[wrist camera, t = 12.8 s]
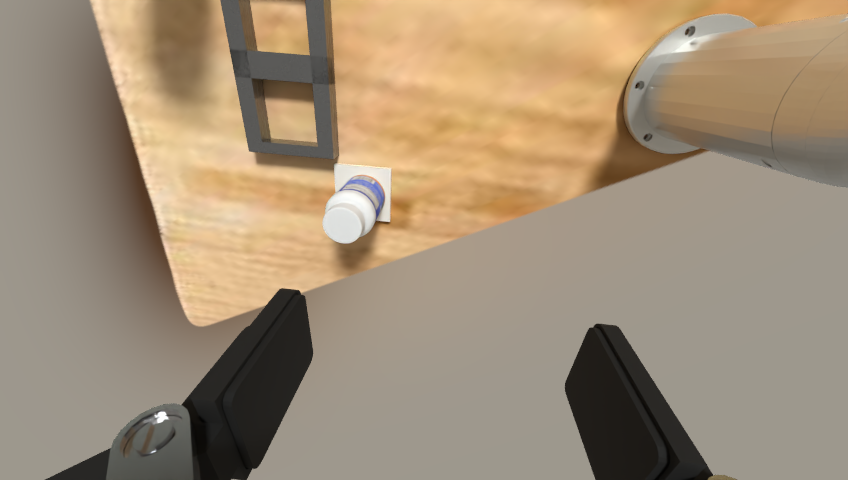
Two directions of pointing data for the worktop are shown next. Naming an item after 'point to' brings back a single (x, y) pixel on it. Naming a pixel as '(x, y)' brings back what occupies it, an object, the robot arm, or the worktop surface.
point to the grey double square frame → (284, 78)
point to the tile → (380, 173)
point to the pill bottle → (354, 209)
